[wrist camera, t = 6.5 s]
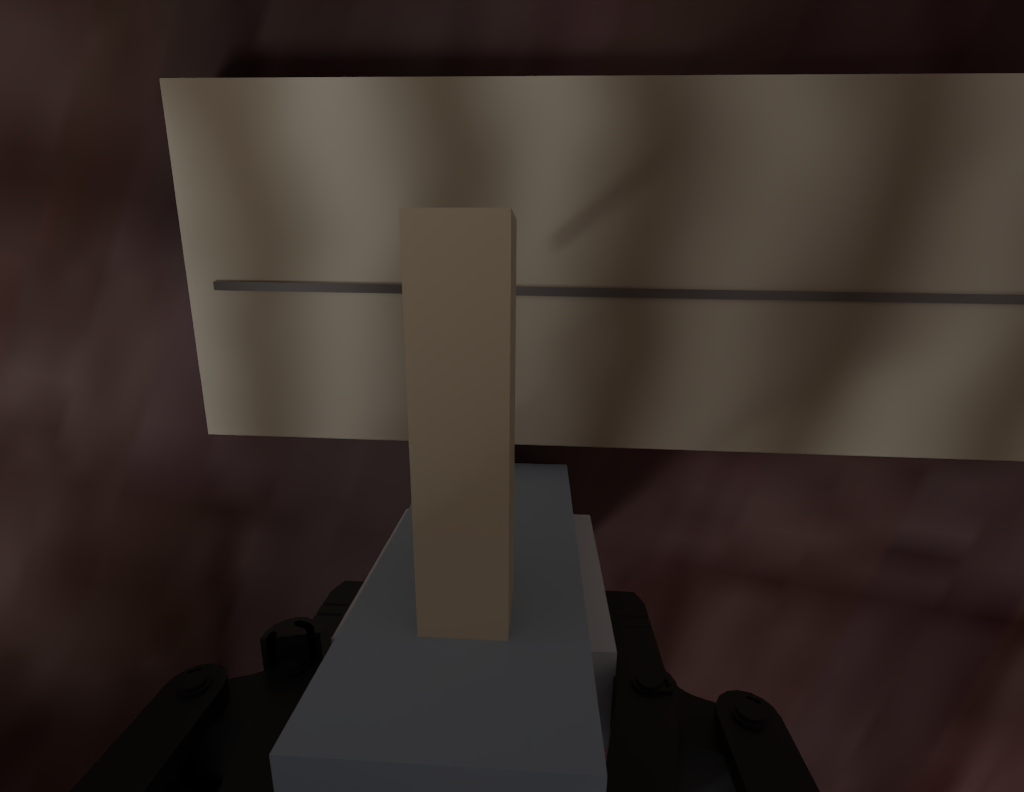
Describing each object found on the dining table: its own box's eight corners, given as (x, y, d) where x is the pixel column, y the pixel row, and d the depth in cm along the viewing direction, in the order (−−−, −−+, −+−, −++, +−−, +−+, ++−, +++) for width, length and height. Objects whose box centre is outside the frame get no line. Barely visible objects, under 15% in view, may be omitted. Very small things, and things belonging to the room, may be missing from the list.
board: (239, 418, 21) (206, 435, 19) (200, 99, 18) (157, 77, 16) (992, 443, 19) (1046, 462, 17) (1082, 96, 16) (1159, 71, 14)
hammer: (439, 576, 20) (300, 985, 9) (429, 242, 17) (189, 176, 5) (562, 581, 20) (591, 1010, 8) (574, 243, 17) (648, 176, 5)
